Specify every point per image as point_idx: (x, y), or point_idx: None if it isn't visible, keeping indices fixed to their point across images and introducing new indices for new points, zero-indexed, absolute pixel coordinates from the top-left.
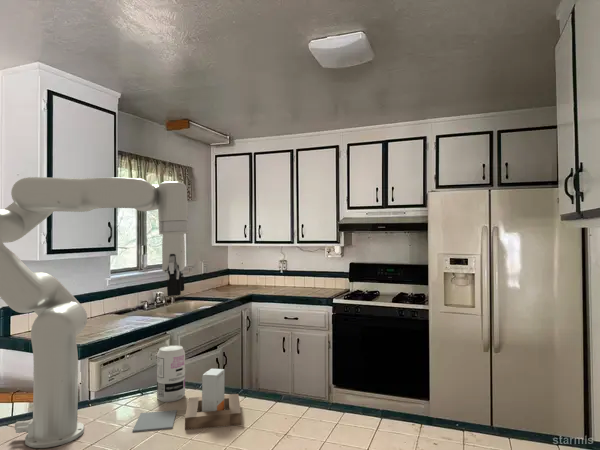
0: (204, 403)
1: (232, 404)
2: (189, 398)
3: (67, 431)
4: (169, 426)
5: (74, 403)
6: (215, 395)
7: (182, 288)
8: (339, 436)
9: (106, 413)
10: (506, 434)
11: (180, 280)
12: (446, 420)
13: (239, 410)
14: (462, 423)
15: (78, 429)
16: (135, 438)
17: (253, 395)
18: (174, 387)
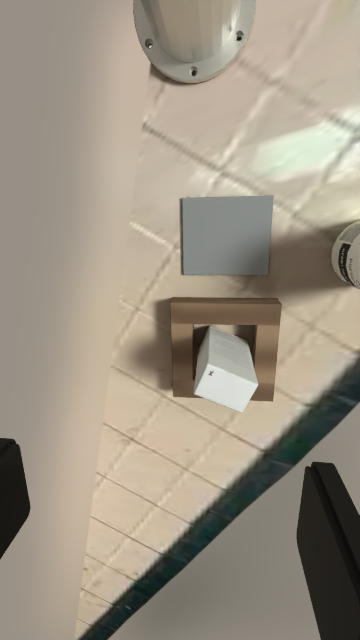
0: (206, 341)
1: None
2: (276, 305)
3: (164, 47)
4: (186, 269)
5: (174, 25)
6: (196, 369)
7: (302, 550)
8: (115, 495)
9: (307, 101)
10: (97, 627)
11: (331, 634)
12: (140, 604)
13: (184, 395)
14: (129, 612)
15: (196, 67)
16: (154, 210)
17: (310, 419)
18: (342, 269)
